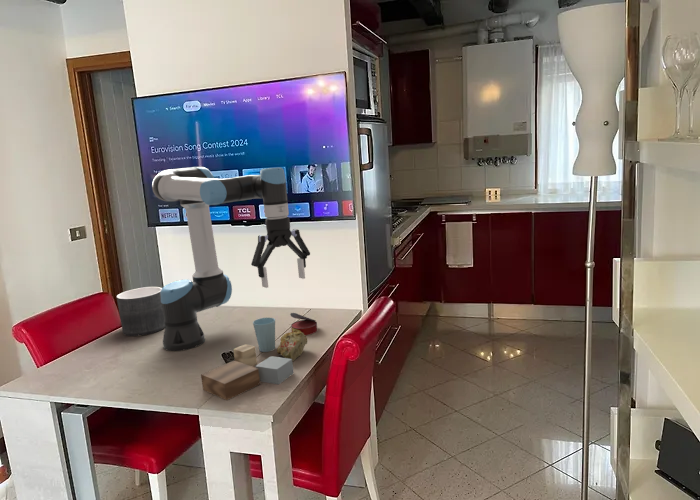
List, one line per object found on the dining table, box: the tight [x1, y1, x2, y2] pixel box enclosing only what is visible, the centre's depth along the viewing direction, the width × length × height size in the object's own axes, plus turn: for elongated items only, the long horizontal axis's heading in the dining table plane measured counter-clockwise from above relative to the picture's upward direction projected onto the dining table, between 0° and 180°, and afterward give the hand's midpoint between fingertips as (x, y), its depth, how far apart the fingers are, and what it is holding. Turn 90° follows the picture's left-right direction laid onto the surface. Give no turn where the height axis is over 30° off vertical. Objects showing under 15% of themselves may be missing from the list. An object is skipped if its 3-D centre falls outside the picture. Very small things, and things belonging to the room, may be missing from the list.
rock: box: [276, 331, 308, 362], centre depth 179 cm, size 12×9×10 cm
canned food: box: [289, 312, 318, 336], centre depth 203 cm, size 11×10×10 cm
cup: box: [252, 317, 276, 353], centre depth 187 cm, size 8×8×10 cm
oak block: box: [233, 343, 258, 367], centre depth 175 cm, size 5×5×6 cm
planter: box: [116, 286, 165, 337], centre depth 221 cm, size 18×18×16 cm
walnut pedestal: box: [200, 360, 261, 401], centre depth 159 cm, size 12×12×5 cm
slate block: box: [254, 355, 294, 385], centre depth 163 cm, size 8×8×5 cm
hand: (284, 282), depth 172 cm, fingers open, 13 cm apart
